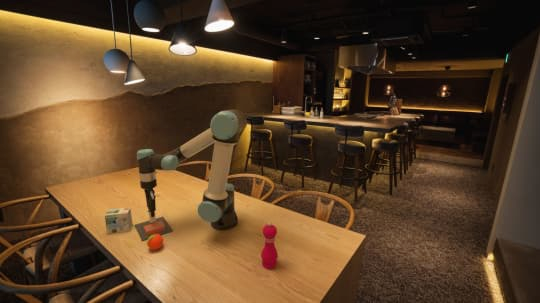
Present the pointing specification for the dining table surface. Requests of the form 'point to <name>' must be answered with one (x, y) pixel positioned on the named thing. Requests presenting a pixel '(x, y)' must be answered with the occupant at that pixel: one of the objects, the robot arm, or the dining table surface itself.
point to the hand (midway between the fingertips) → (152, 221)
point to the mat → (140, 226)
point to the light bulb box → (118, 220)
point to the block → (154, 228)
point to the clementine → (155, 241)
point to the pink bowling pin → (269, 247)
